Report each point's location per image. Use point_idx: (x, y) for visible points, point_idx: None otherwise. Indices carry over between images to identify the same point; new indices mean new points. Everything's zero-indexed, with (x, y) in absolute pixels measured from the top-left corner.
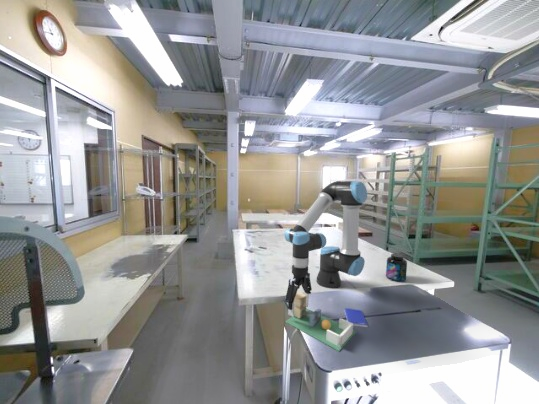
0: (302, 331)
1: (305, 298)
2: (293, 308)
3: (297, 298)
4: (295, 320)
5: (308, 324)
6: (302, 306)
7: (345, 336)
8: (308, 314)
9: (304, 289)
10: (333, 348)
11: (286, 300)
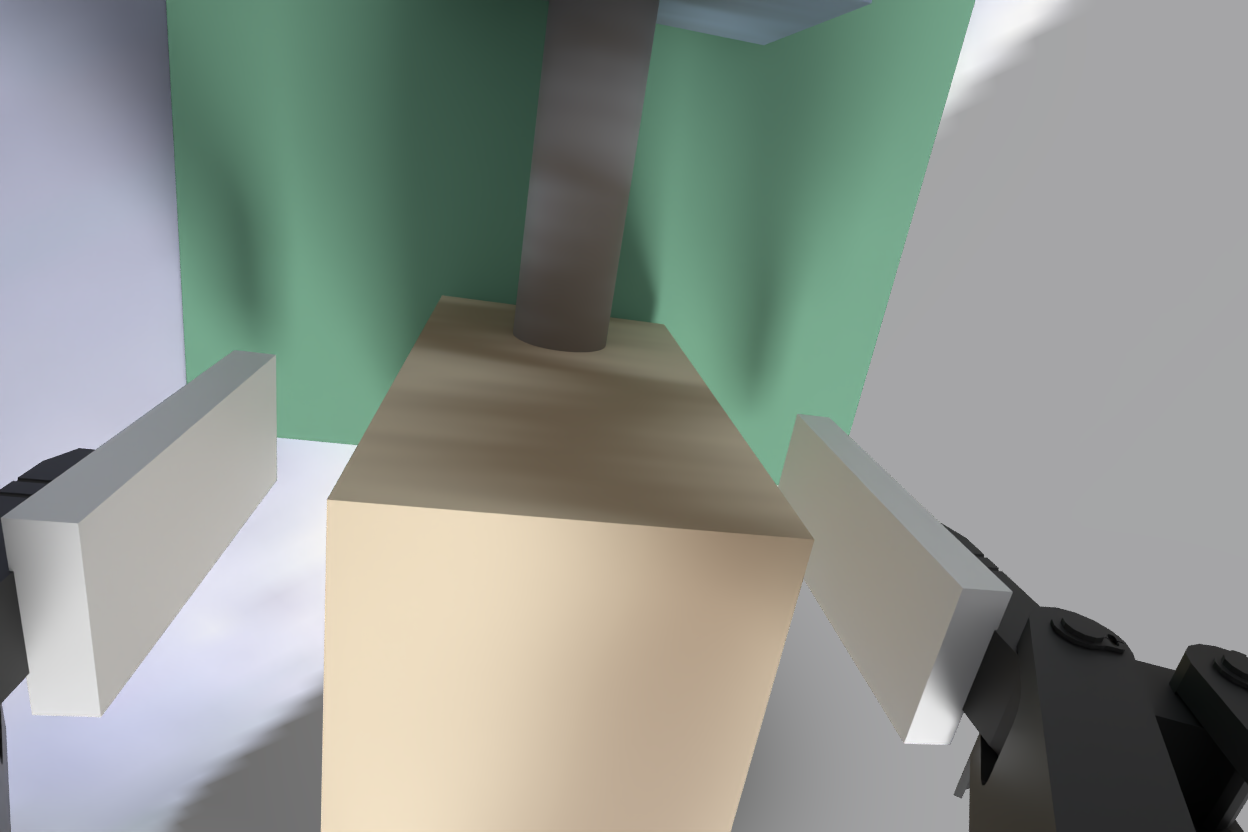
0: (935, 114)
1: (425, 451)
2: (911, 502)
3: (766, 638)
4: (723, 369)
5: (701, 99)
6: (596, 387)
7: None
8: (630, 153)
9: (3, 802)
10: None
11: (1236, 797)
